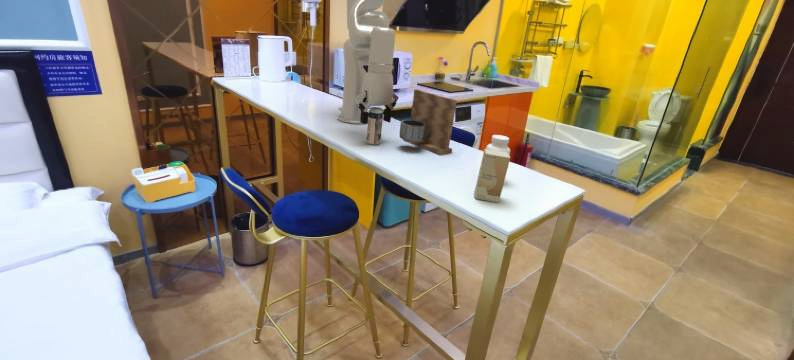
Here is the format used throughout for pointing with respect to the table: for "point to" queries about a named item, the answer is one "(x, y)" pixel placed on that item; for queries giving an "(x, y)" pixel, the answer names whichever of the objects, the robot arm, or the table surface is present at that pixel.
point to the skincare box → (491, 175)
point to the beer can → (374, 126)
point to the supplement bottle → (499, 143)
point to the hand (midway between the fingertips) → (375, 122)
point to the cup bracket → (430, 122)
